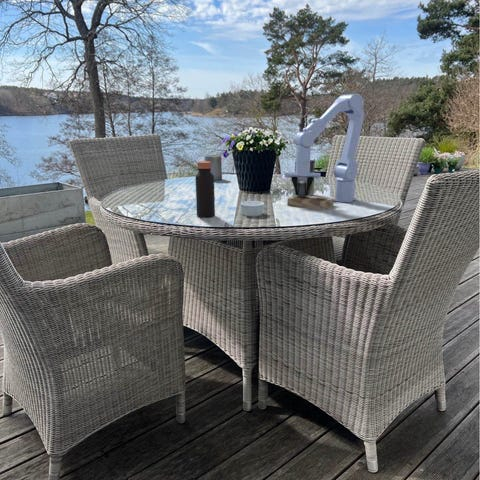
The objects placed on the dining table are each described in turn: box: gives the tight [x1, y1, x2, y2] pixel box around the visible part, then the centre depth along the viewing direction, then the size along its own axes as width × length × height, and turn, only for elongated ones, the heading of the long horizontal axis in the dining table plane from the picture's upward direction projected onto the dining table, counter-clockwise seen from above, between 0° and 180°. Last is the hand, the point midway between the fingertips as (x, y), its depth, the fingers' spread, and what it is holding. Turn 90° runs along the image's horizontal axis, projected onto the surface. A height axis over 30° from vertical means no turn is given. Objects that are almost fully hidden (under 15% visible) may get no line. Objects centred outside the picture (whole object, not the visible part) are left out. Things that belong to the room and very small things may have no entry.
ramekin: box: [240, 200, 265, 217], centre depth 160 cm, size 9×9×4 cm
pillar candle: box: [204, 154, 223, 182], centre depth 243 cm, size 10×10×15 cm
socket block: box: [286, 195, 334, 211], centre depth 174 cm, size 10×16×3 cm, turn 56°
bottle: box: [195, 160, 216, 219], centre depth 155 cm, size 7×7×20 cm
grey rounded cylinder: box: [297, 181, 307, 199], centre depth 175 cm, size 4×4×9 cm
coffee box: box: [293, 159, 316, 196], centre depth 194 cm, size 9×6×16 cm
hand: (301, 195), depth 175 cm, fingers closed on grey rounded cylinder, 4 cm apart
